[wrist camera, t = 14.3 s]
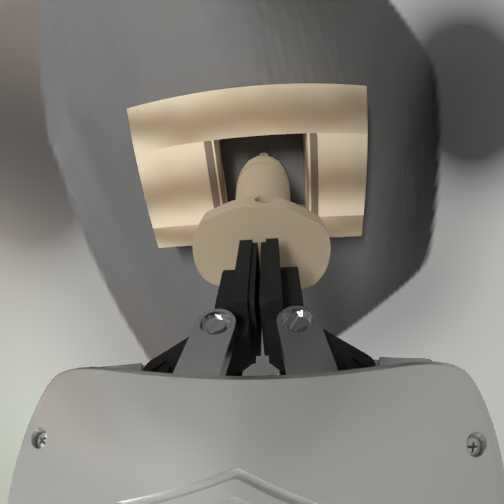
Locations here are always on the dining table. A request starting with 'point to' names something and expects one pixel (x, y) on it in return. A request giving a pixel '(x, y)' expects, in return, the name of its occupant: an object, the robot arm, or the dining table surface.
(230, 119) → the board
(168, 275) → the dining table surface
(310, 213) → the handle
